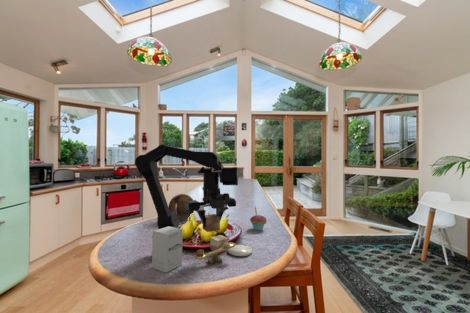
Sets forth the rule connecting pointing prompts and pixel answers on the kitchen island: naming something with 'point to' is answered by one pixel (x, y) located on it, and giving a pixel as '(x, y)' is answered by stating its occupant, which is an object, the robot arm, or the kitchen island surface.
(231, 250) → the dish
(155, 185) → the robot arm
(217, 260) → the balance
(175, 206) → the wooden sphere
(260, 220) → the cupcake
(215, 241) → the maple block
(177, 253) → the supplement box
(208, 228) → the walnut block
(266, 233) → the kitchen island surface
